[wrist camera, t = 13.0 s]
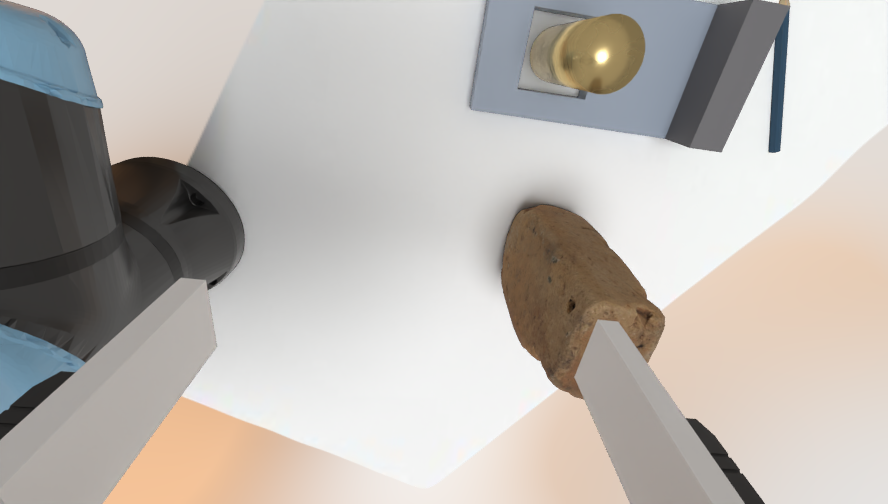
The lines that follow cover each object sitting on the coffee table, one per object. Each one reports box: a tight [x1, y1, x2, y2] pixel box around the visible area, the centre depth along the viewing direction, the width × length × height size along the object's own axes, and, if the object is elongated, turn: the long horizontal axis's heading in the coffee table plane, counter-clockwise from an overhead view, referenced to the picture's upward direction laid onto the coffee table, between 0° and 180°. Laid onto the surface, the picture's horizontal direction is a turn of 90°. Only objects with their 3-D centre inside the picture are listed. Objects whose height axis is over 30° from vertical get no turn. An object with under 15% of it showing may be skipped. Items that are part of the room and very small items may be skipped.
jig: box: [470, 0, 790, 152], centre depth 33 cm, size 22×11×6 cm, turn 82°
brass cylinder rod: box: [530, 14, 645, 94], centre depth 30 cm, size 5×5×12 cm
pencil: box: [769, 0, 790, 153], centre depth 36 cm, size 1×1×15 cm
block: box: [501, 205, 665, 399], centre depth 35 cm, size 11×8×20 cm
